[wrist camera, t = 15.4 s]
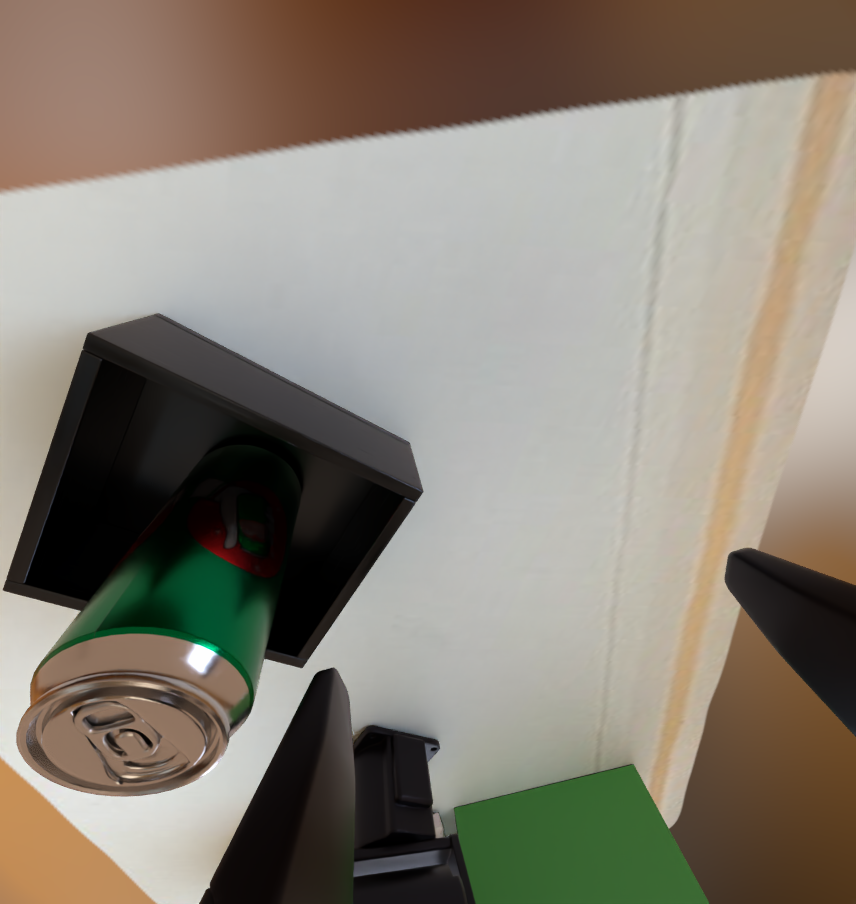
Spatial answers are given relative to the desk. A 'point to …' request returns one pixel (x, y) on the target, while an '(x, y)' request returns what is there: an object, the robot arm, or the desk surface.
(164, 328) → the open black square box
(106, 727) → the soda can
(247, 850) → the robot arm
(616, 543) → the desk surface
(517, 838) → the hardback book
